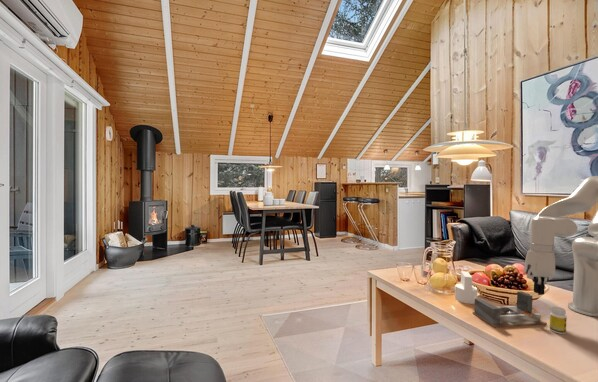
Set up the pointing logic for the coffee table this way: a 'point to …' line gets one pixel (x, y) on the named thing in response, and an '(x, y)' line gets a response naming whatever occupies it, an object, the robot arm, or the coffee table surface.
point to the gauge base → (504, 315)
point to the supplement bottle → (558, 320)
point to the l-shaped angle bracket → (521, 305)
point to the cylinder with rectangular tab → (465, 289)
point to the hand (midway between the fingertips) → (538, 293)
